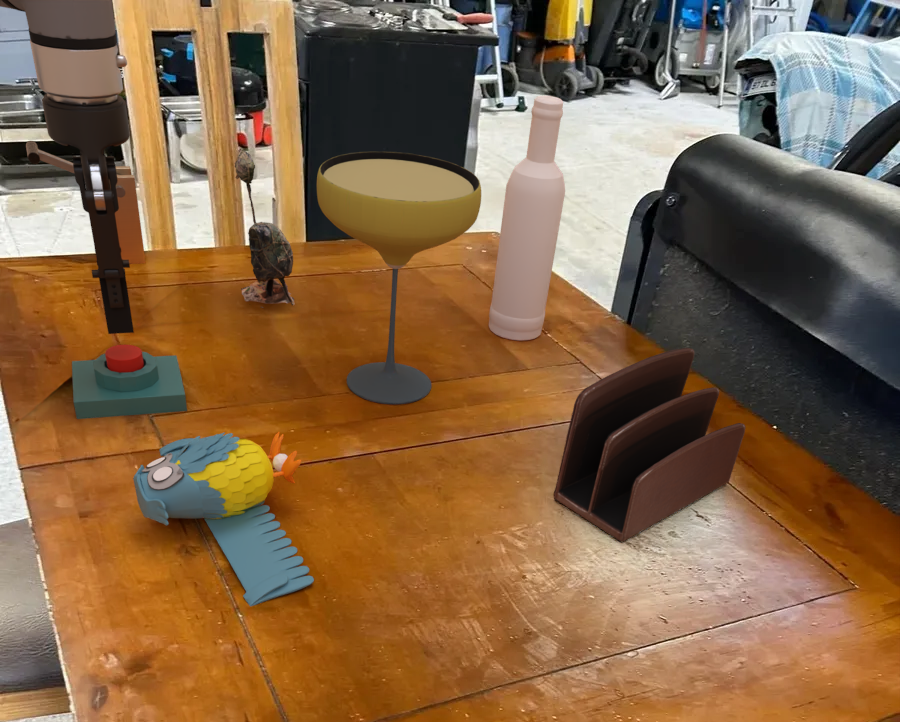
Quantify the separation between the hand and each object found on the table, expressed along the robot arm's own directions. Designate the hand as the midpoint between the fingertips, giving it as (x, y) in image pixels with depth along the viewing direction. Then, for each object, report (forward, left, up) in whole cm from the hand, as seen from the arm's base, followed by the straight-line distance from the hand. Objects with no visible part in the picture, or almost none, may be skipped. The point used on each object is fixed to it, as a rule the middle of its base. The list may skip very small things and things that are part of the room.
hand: (120, 330), depth 99 cm
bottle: (+41, +37, -8) cm, 56 cm away
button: (0, 0, -4) cm, 4 cm away
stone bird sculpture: (+6, +31, -8) cm, 33 cm away
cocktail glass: (+28, +14, -8) cm, 32 cm away
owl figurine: (+19, -19, -8) cm, 28 cm away
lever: (-21, +31, +5) cm, 38 cm away
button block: (0, 0, -8) cm, 8 cm away
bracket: (-17, +34, -8) cm, 39 cm away
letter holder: (+61, 0, -8) cm, 61 cm away
